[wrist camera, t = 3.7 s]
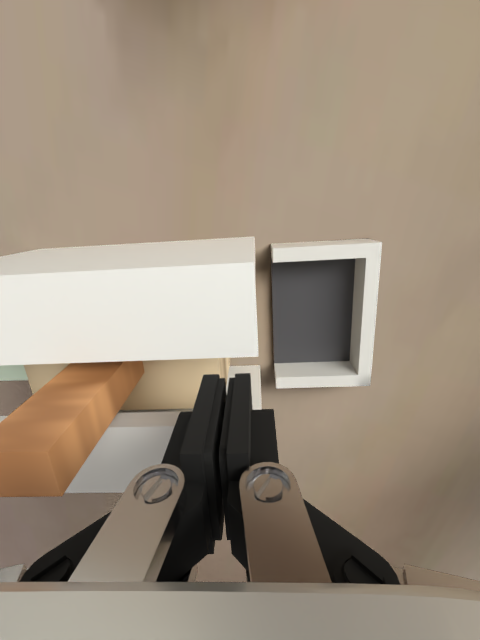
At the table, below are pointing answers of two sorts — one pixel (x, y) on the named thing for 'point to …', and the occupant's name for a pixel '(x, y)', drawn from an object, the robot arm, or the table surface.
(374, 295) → the tray
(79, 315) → the tunnel
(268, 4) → the table surface
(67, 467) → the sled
